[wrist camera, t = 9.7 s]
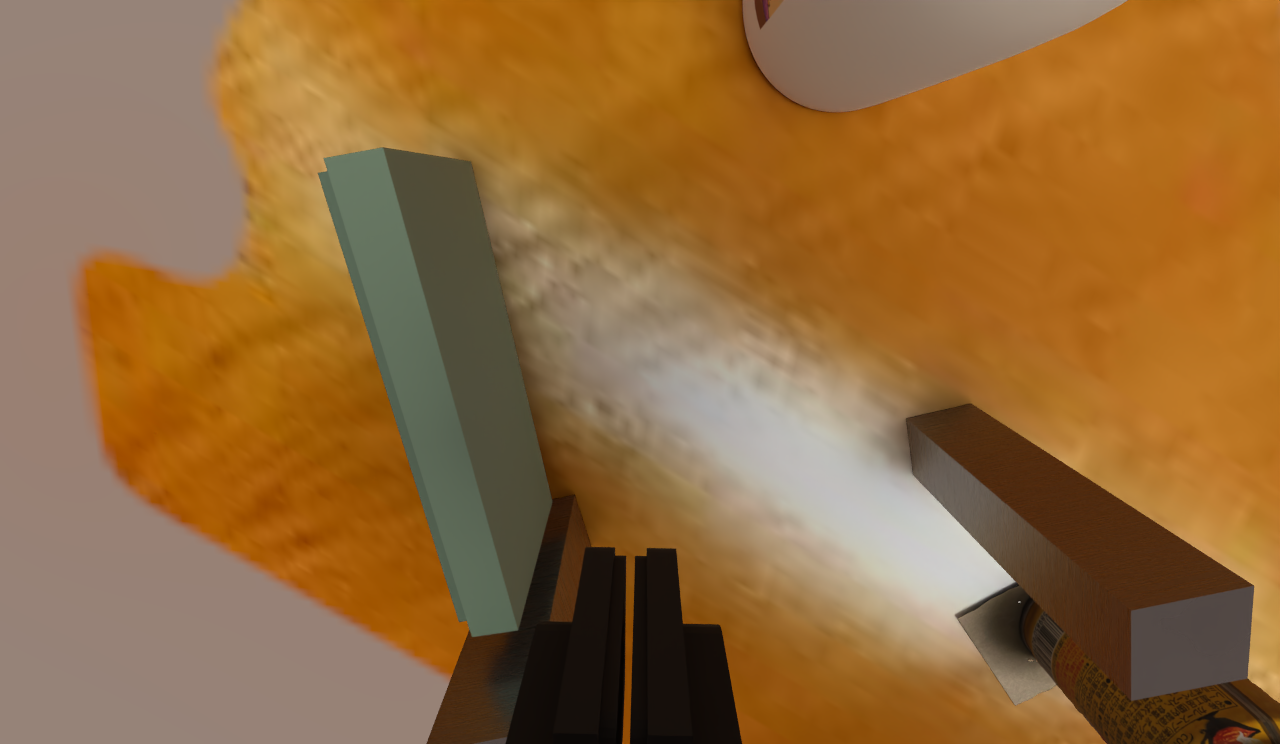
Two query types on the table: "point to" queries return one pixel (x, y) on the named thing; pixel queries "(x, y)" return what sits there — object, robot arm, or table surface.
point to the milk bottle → (895, 42)
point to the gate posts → (1008, 530)
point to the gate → (447, 369)
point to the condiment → (1111, 684)
